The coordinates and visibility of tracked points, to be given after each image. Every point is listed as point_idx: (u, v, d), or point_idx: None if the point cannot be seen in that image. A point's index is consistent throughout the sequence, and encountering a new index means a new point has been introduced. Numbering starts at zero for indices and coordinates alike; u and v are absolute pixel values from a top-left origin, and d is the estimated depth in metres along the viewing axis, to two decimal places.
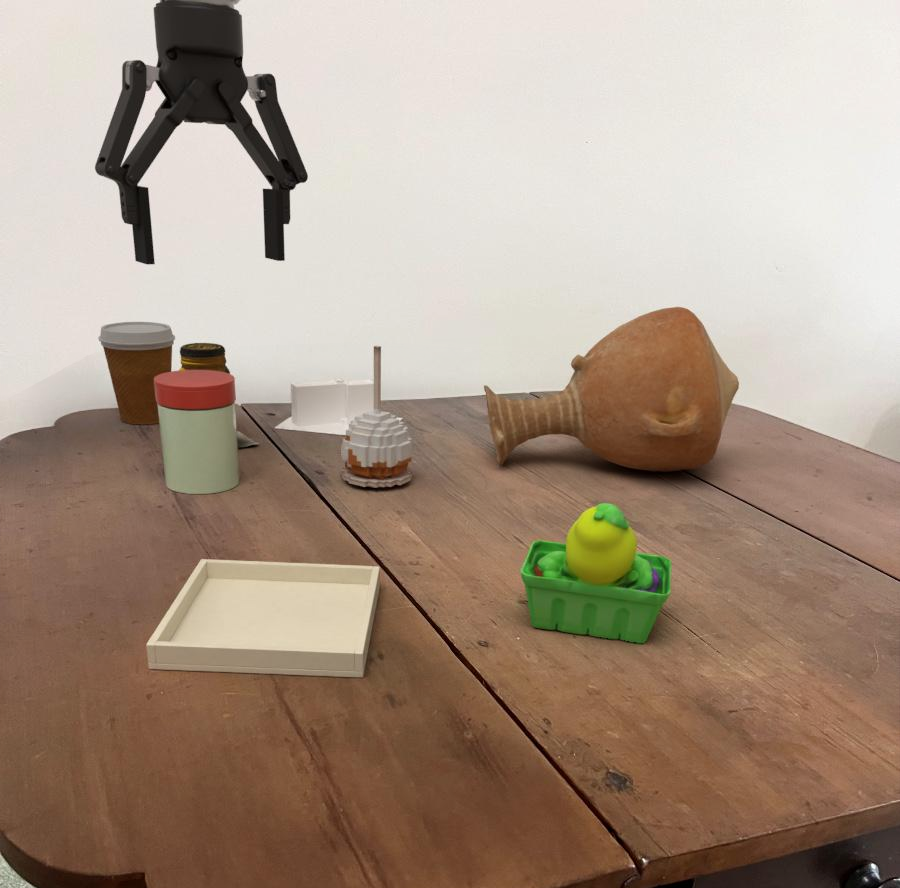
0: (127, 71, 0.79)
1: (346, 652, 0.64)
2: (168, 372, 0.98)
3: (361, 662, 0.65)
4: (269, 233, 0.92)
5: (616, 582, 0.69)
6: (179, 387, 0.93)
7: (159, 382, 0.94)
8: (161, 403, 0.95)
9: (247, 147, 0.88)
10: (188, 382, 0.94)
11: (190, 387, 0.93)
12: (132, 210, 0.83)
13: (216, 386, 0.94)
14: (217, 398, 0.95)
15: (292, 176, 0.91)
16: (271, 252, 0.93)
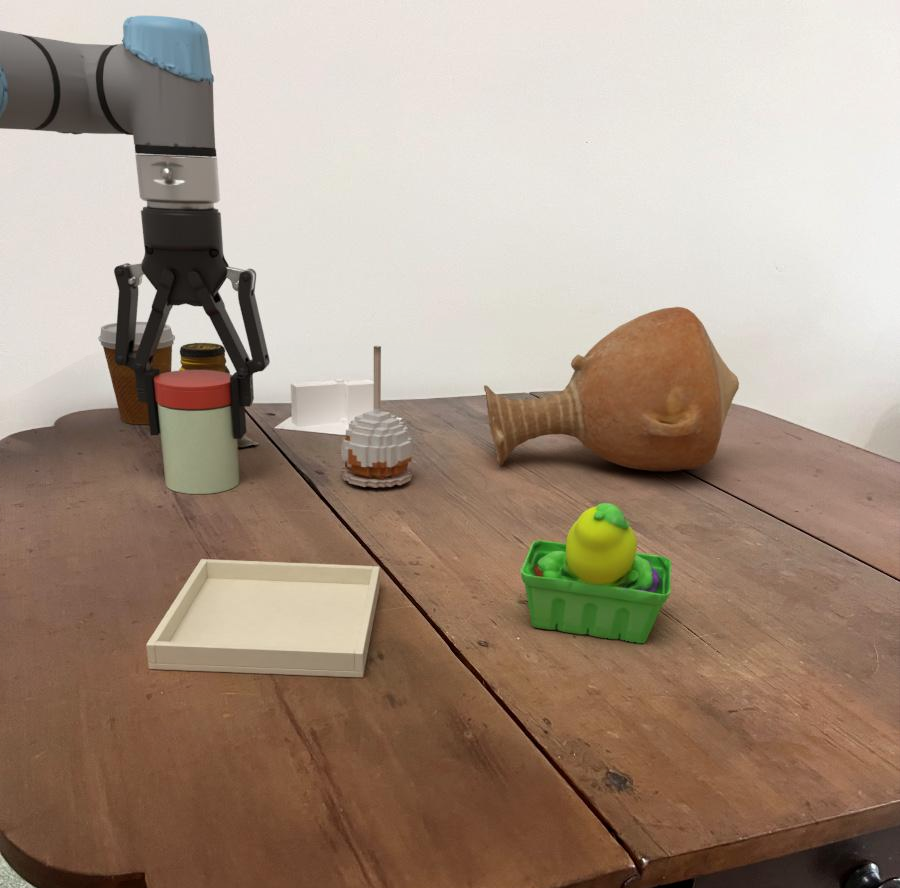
0: None
1: (346, 652, 0.64)
2: (168, 372, 0.98)
3: (361, 662, 0.65)
4: None
5: (616, 582, 0.69)
6: (179, 387, 0.93)
7: (159, 382, 0.94)
8: (161, 403, 0.95)
9: None
10: (188, 382, 0.94)
11: (190, 387, 0.93)
12: (142, 391, 0.96)
13: (216, 386, 0.94)
14: (217, 398, 0.95)
15: (252, 362, 0.95)
16: None
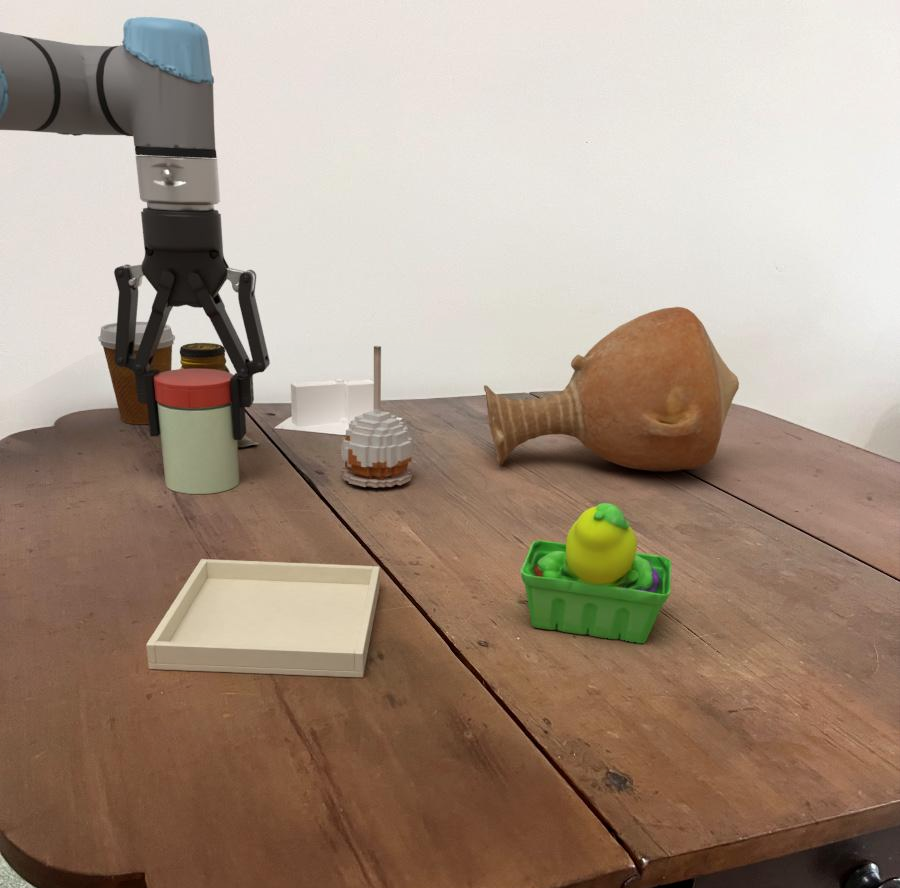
0: None
1: (346, 652, 0.64)
2: (168, 383, 0.93)
3: (361, 662, 0.65)
4: None
5: (616, 582, 0.69)
6: None
7: (215, 383, 0.94)
8: (219, 403, 0.95)
9: None
10: (215, 377, 0.97)
11: None
12: (141, 392, 0.96)
13: None
14: None
15: (252, 363, 0.95)
16: None
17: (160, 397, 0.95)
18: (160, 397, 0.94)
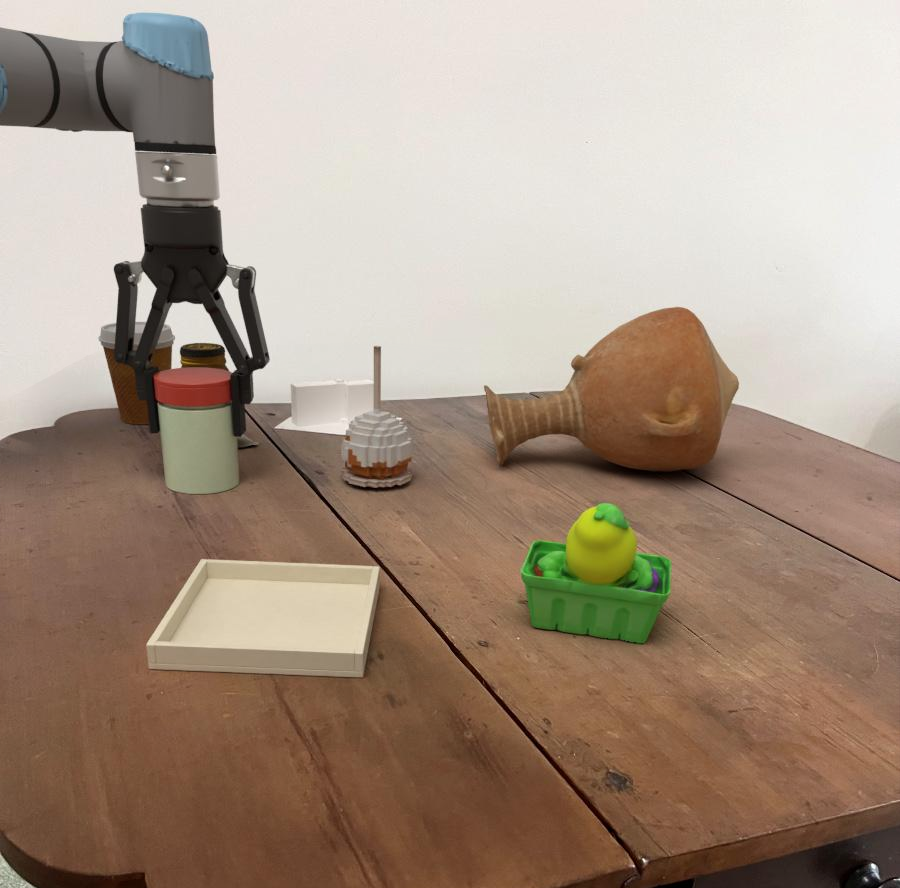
0: None
1: (346, 652, 0.64)
2: (225, 379, 0.95)
3: (361, 662, 0.65)
4: None
5: (616, 582, 0.69)
6: (201, 368, 1.00)
7: (223, 370, 0.99)
8: None
9: None
10: (196, 370, 0.98)
11: (191, 368, 1.00)
12: (141, 389, 0.96)
13: None
14: None
15: (252, 360, 0.95)
16: None
17: (219, 398, 0.95)
18: (219, 397, 0.95)
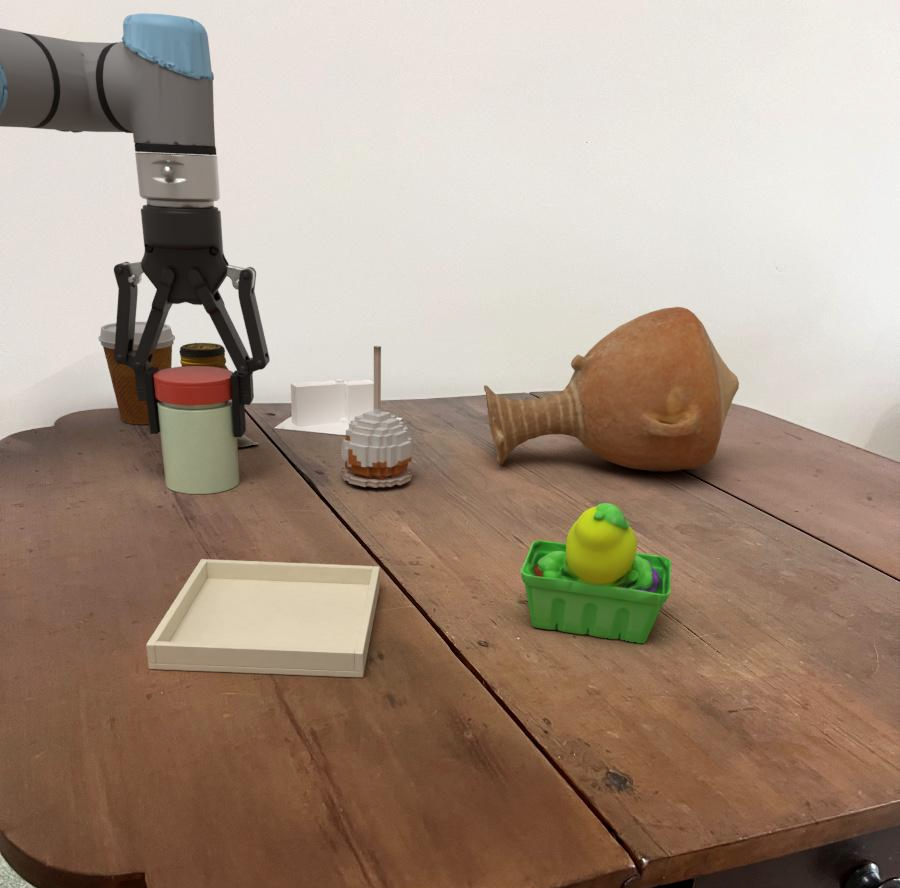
0: None
1: (346, 652, 0.64)
2: (213, 367, 1.00)
3: (361, 662, 0.65)
4: None
5: (616, 582, 0.69)
6: None
7: (168, 368, 0.98)
8: None
9: None
10: (172, 374, 0.96)
11: (154, 376, 0.95)
12: (141, 389, 0.96)
13: (165, 382, 0.93)
14: (167, 394, 0.94)
15: (252, 360, 0.95)
16: None
17: None
18: None
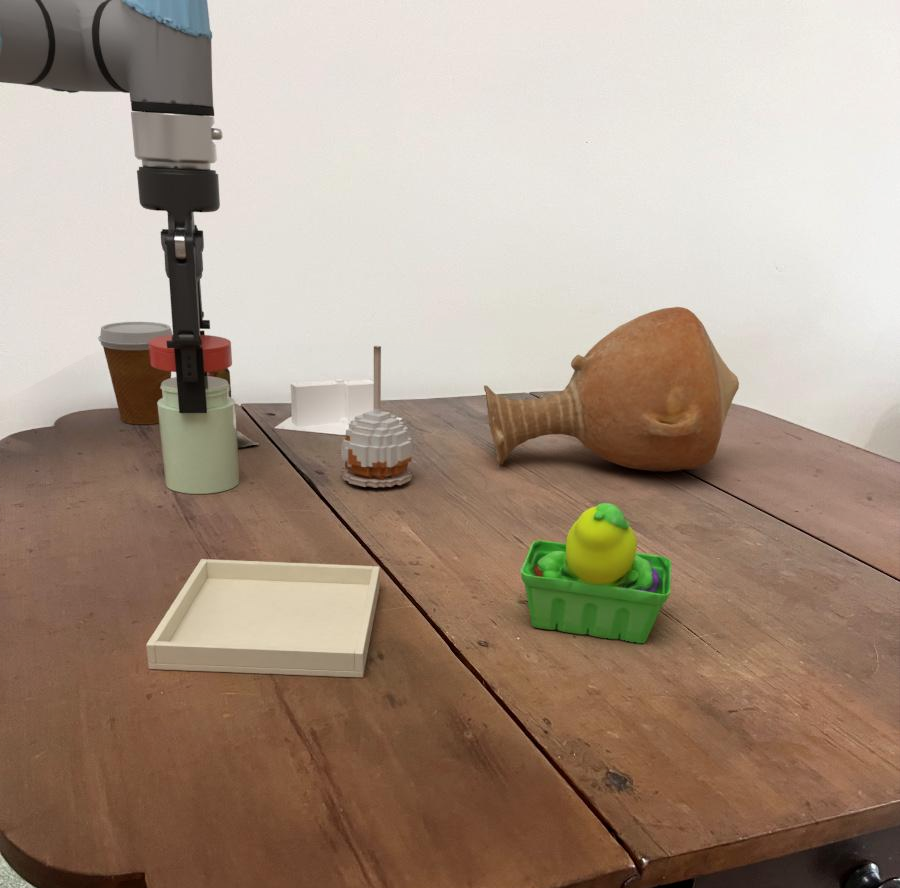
0: (180, 247, 0.85)
1: (346, 652, 0.64)
2: (153, 339, 0.95)
3: (361, 662, 0.65)
4: None
5: (616, 582, 0.69)
6: None
7: (166, 347, 0.92)
8: (169, 369, 0.92)
9: None
10: None
11: (205, 349, 0.92)
12: None
13: (225, 347, 0.94)
14: (226, 359, 0.95)
15: None
16: None
17: None
18: None
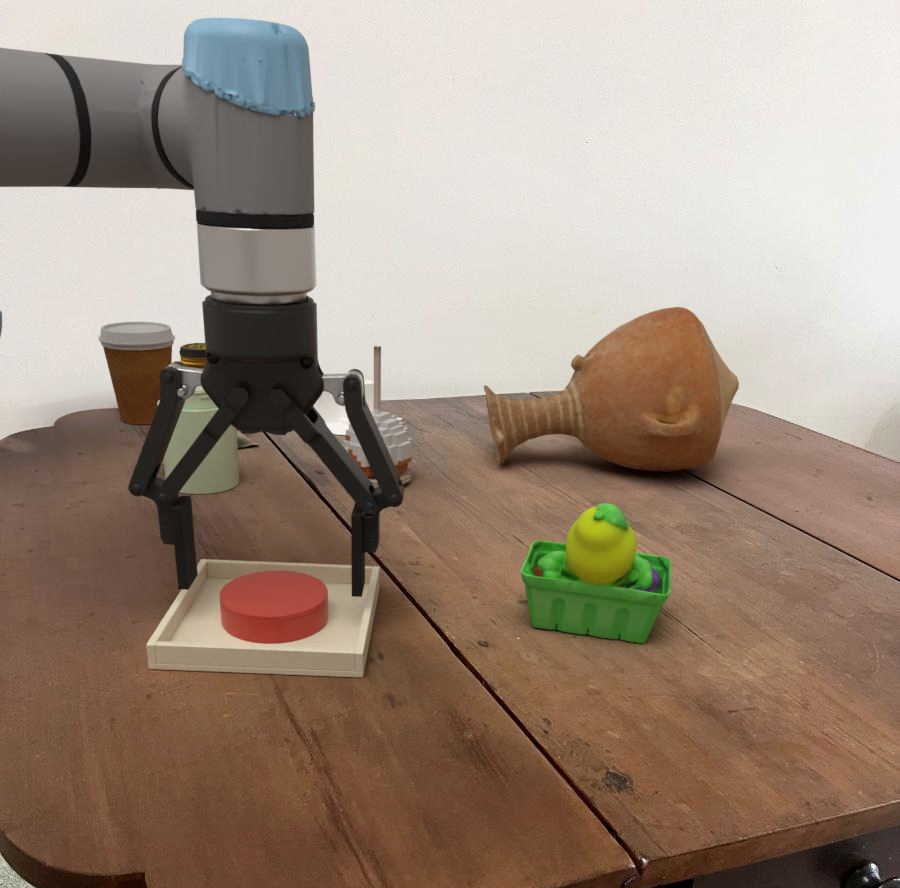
0: (362, 385, 0.64)
1: (346, 652, 0.64)
2: (248, 613, 0.67)
3: (361, 662, 0.65)
4: (189, 554, 0.69)
5: (616, 582, 0.69)
6: (327, 592, 0.71)
7: (312, 606, 0.69)
8: (315, 630, 0.70)
9: (205, 456, 0.66)
10: (302, 590, 0.71)
11: (325, 586, 0.72)
12: None
13: None
14: None
15: None
16: (192, 574, 0.70)
17: (234, 629, 0.68)
18: (235, 629, 0.68)
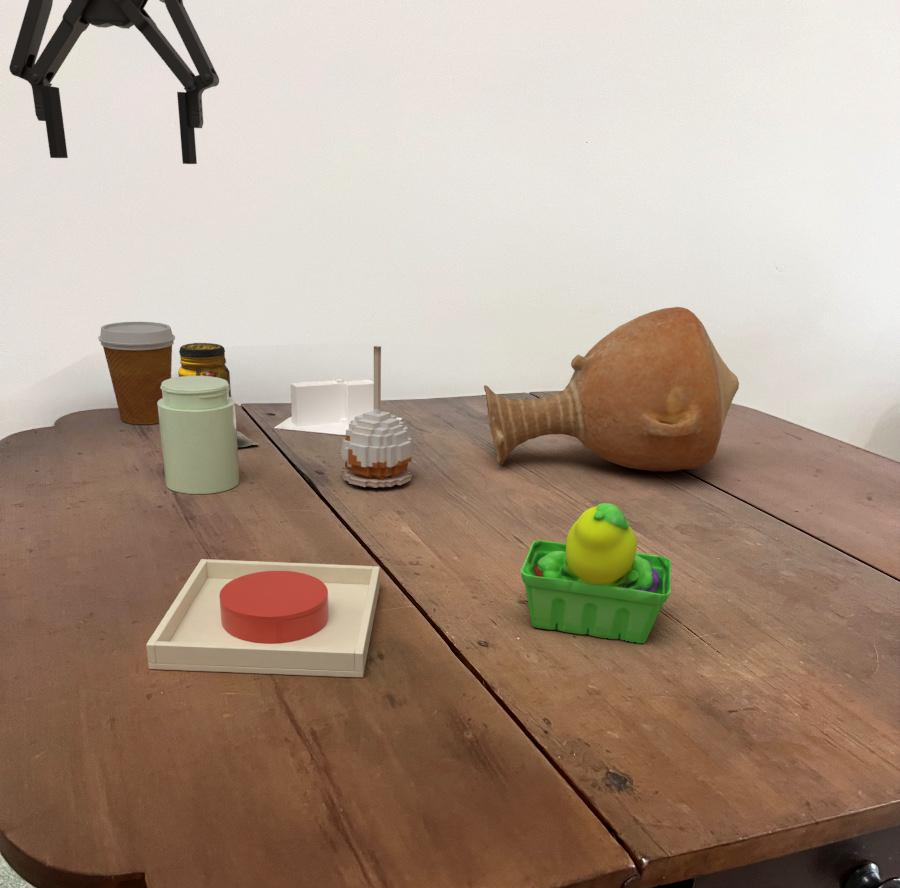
0: None
1: (346, 652, 0.64)
2: (248, 613, 0.67)
3: (361, 662, 0.65)
4: (58, 131, 0.94)
5: (616, 582, 0.69)
6: (327, 592, 0.71)
7: (312, 606, 0.69)
8: (315, 630, 0.70)
9: (66, 45, 0.91)
10: (302, 590, 0.71)
11: (325, 586, 0.72)
12: None
13: None
14: None
15: None
16: (62, 151, 0.95)
17: (234, 629, 0.68)
18: (235, 629, 0.68)
